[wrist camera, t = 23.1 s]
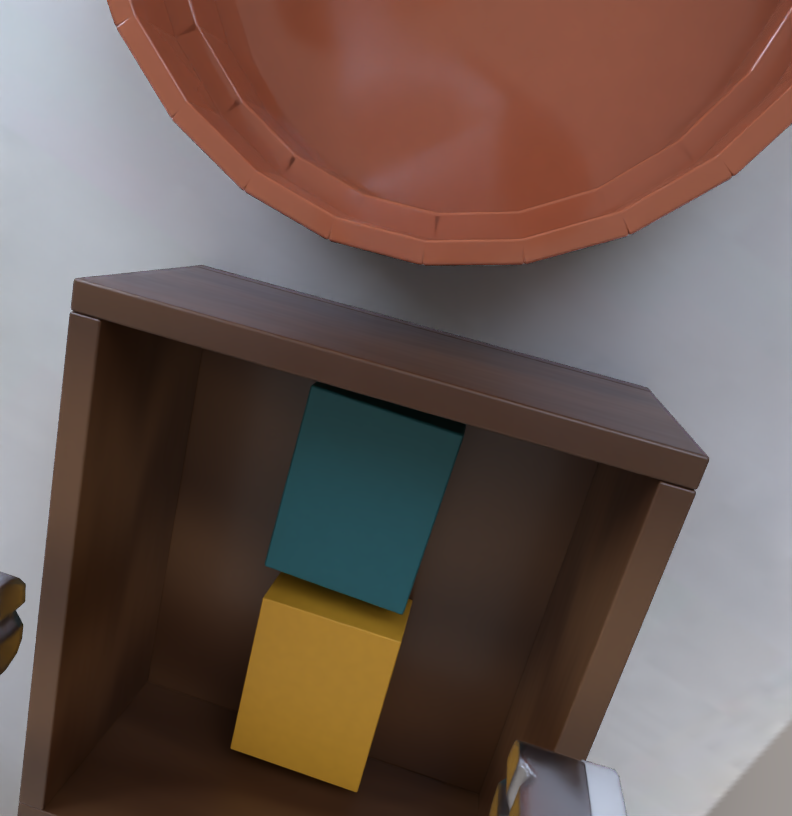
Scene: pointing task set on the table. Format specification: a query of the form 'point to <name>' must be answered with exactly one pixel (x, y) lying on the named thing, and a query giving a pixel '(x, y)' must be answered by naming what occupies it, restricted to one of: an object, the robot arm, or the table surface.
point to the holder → (250, 579)
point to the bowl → (470, 112)
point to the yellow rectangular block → (317, 680)
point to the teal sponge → (362, 495)
